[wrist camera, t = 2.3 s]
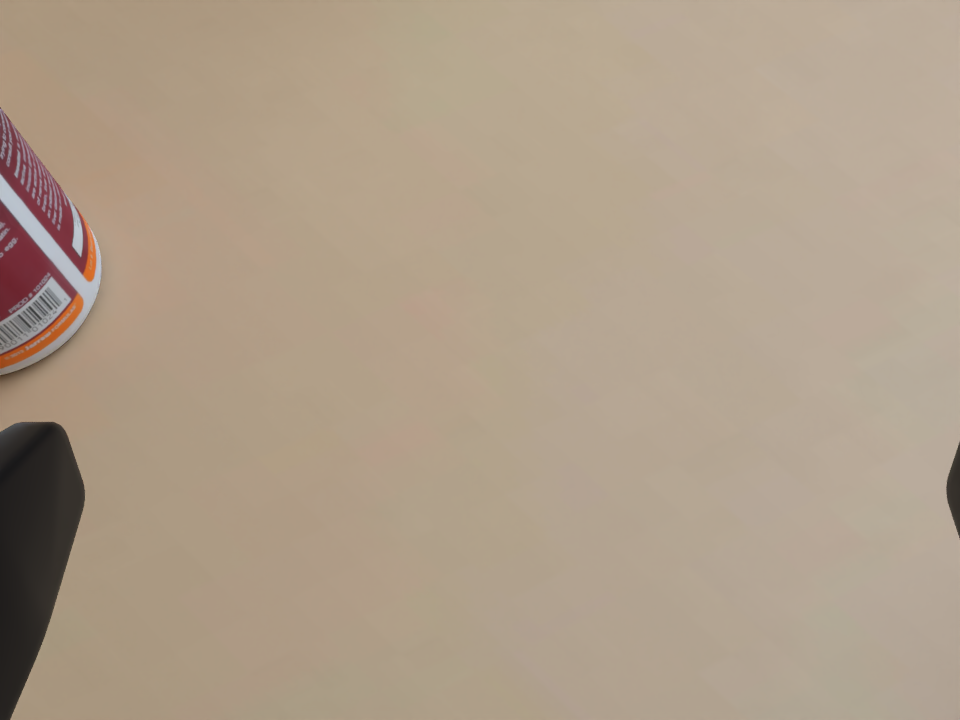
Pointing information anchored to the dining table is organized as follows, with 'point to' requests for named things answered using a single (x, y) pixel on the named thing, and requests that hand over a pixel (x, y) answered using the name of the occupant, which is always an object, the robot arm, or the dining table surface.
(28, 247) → the pill bottle
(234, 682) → the dining table surface
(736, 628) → the dining table surface
